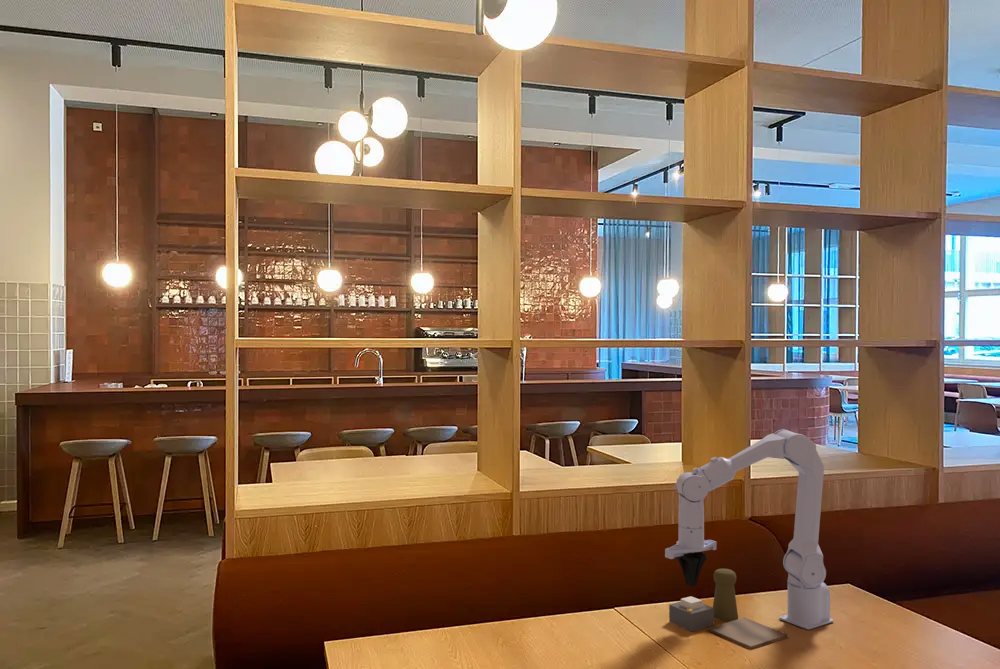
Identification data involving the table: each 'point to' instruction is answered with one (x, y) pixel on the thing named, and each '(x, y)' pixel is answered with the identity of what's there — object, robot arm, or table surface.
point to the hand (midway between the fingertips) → (691, 585)
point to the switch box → (691, 616)
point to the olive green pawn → (725, 595)
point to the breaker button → (691, 603)
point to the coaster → (747, 633)
